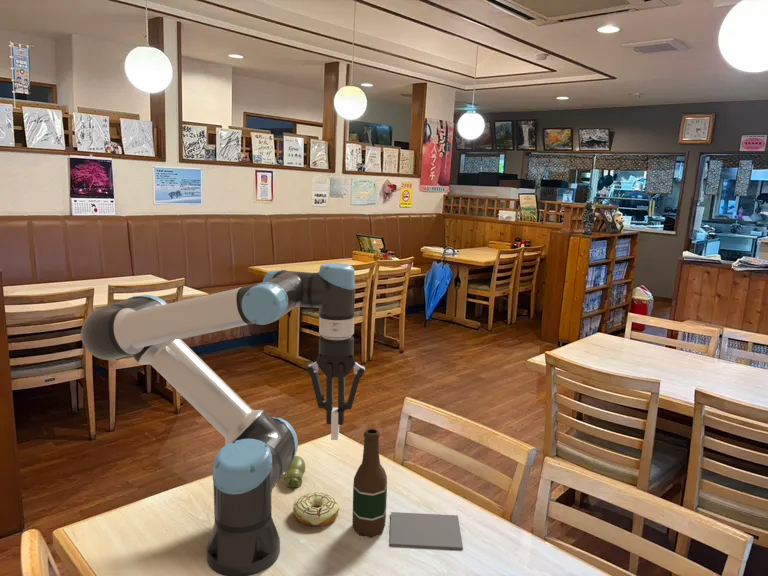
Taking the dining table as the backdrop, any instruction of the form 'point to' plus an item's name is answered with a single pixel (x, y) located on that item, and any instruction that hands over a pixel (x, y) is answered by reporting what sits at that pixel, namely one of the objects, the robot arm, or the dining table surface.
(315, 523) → the decorated donut
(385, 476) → the beer bottle
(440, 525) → the mat
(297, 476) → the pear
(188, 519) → the dining table surface
